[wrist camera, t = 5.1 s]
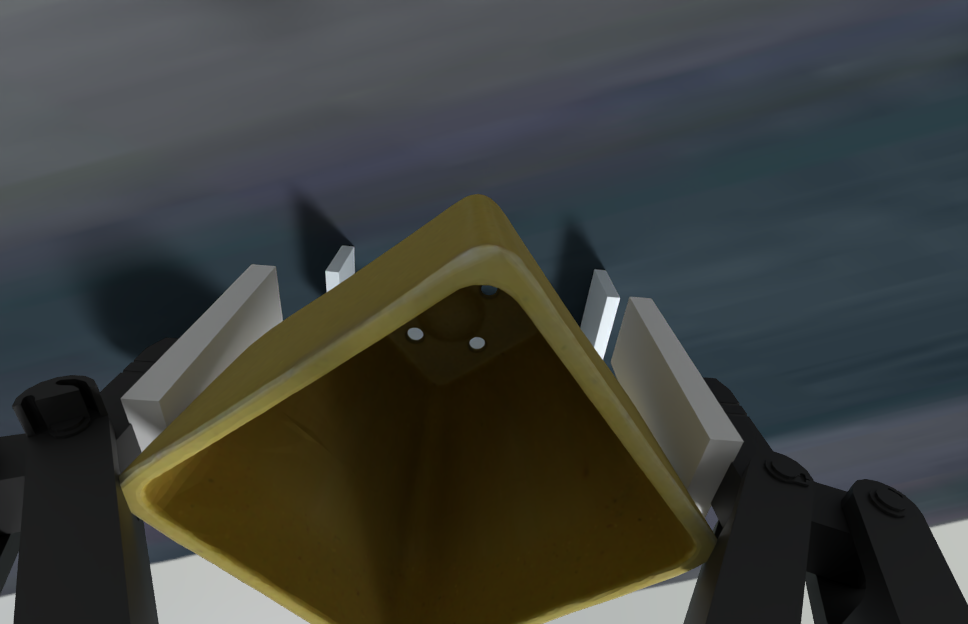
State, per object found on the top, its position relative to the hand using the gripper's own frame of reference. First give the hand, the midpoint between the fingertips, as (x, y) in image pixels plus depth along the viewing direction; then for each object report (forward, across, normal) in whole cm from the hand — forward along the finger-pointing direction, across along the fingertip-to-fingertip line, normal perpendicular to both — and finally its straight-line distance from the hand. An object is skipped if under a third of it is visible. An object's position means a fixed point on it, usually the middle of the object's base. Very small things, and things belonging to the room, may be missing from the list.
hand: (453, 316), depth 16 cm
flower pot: (+1, 0, 0) cm, 1 cm away
